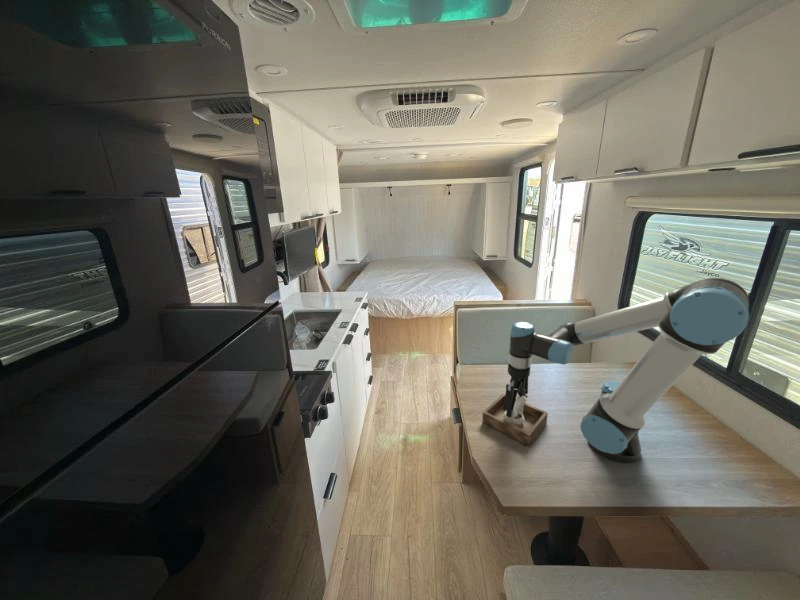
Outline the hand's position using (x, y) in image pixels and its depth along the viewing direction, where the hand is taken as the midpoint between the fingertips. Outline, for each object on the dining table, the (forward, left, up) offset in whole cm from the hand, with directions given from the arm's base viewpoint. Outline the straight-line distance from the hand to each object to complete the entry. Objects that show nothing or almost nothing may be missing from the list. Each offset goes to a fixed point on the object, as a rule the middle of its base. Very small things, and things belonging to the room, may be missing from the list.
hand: (514, 417), depth 116 cm
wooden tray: (0, 0, -3) cm, 3 cm away
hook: (0, 0, -1) cm, 1 cm away
